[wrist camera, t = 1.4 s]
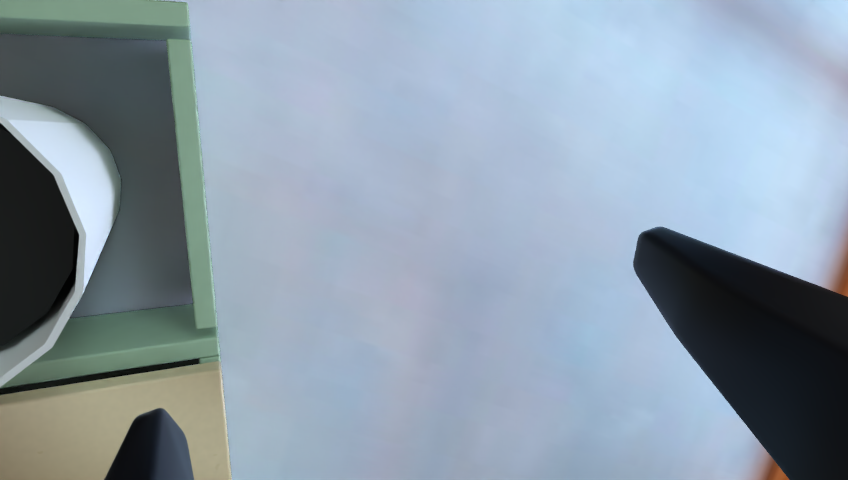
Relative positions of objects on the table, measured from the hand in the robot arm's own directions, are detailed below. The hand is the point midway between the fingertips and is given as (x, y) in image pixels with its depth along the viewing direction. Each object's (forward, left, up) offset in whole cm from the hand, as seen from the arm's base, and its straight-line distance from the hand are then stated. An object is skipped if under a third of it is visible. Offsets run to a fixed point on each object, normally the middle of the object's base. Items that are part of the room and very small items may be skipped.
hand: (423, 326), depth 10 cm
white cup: (+1, +9, -15) cm, 17 cm away
